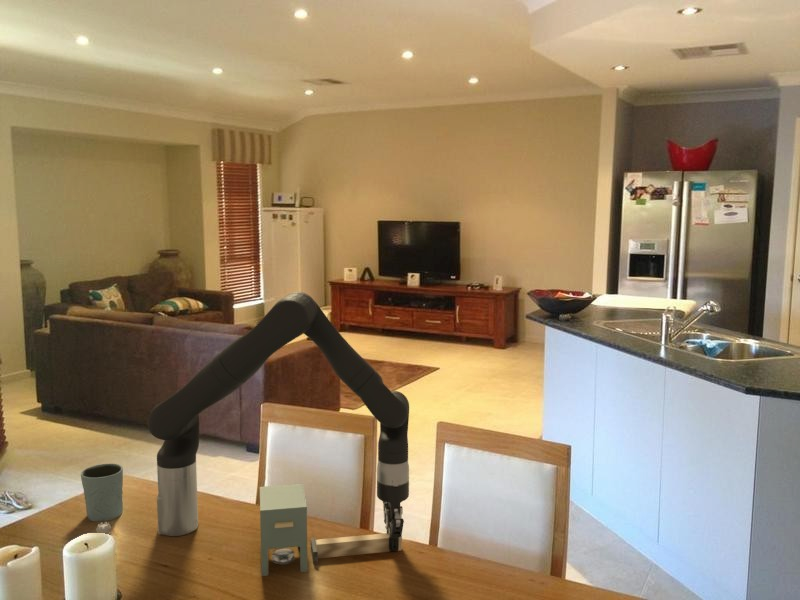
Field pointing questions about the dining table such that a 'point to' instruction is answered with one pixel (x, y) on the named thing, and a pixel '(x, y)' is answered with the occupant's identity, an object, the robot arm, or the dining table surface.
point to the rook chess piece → (103, 528)
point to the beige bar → (350, 546)
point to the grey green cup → (103, 491)
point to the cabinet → (283, 521)
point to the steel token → (283, 556)
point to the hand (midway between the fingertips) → (392, 547)
